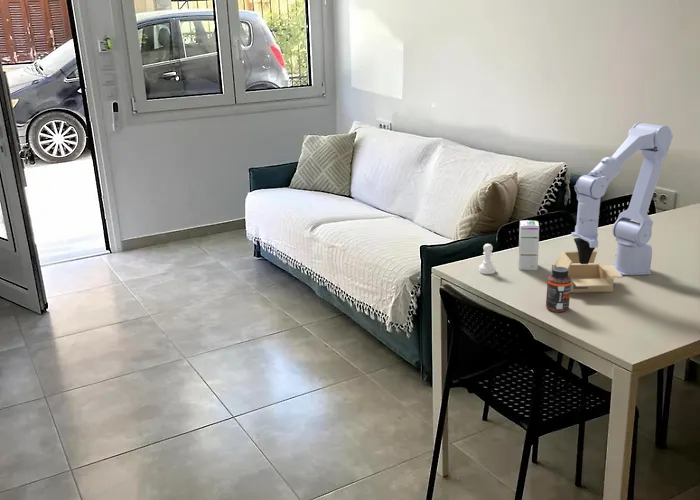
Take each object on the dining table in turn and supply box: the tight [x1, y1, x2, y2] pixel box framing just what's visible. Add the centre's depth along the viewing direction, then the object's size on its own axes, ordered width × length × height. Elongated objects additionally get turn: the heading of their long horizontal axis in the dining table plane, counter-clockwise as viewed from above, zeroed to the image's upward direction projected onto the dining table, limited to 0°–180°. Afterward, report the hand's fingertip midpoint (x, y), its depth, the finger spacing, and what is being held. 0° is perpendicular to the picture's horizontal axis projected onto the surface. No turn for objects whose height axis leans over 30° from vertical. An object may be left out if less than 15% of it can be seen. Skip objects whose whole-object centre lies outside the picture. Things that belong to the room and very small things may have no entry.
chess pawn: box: [478, 243, 496, 275], centre depth 201 cm, size 5×5×9 cm
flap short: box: [564, 250, 598, 264], centre depth 192 cm, size 9×1×4 cm, turn 88°
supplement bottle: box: [545, 267, 571, 313], centre depth 174 cm, size 6×6×11 cm
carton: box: [550, 263, 624, 294], centre depth 188 cm, size 17×16×4 cm
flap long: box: [554, 250, 573, 269], centre depth 188 cm, size 1×9×4 cm, turn 179°
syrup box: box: [517, 219, 540, 271], centre depth 203 cm, size 6×6×14 cm
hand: (583, 263), depth 189 cm, fingers closed
